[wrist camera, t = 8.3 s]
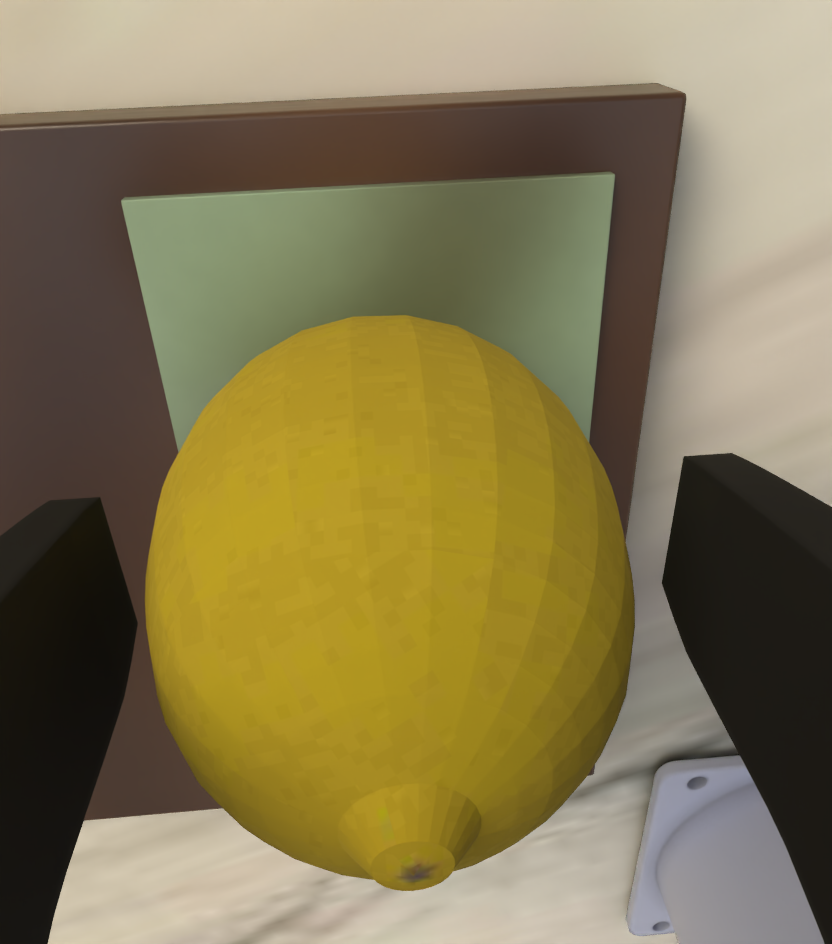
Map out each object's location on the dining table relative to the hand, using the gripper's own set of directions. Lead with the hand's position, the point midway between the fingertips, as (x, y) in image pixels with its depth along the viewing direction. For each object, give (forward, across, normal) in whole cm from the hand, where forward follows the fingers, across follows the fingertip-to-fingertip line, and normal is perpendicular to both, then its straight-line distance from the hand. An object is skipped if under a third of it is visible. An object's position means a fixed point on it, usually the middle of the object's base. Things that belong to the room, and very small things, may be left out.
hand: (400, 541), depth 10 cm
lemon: (+4, 0, 0) cm, 4 cm away
